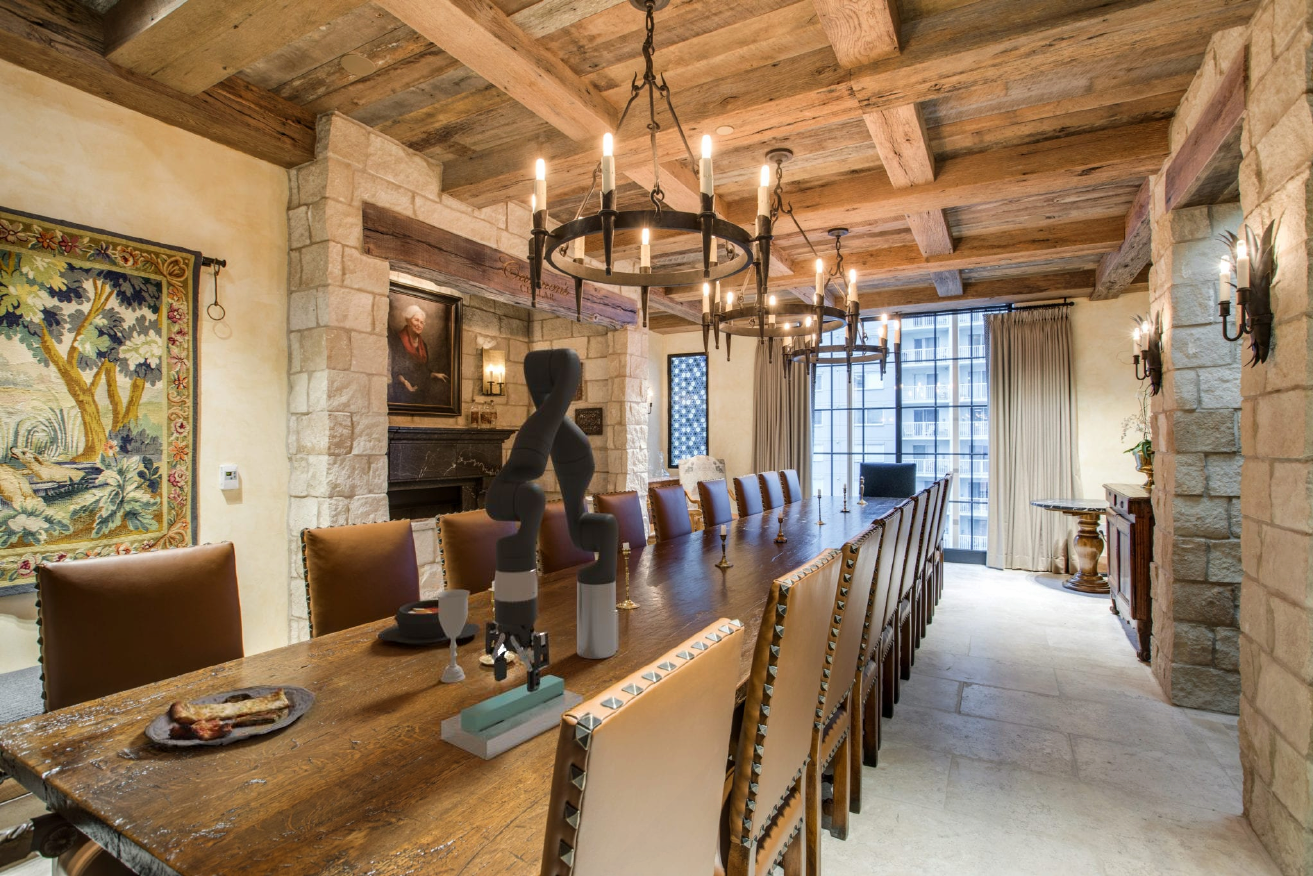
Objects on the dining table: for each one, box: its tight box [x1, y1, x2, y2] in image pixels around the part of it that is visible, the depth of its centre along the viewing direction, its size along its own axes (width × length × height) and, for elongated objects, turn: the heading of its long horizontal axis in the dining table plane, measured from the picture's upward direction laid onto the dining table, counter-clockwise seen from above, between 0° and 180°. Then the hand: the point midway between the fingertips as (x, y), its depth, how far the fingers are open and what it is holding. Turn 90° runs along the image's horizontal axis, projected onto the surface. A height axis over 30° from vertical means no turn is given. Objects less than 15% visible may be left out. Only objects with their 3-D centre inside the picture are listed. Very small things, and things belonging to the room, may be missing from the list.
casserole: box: [377, 599, 481, 646], centre depth 160 cm, size 25×19×8 cm
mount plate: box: [440, 689, 584, 761], centre depth 110 cm, size 22×12×3 cm, turn 144°
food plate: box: [143, 684, 315, 748], centre depth 112 cm, size 25×23×4 cm
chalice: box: [435, 589, 471, 684], centre depth 133 cm, size 7×7×18 cm
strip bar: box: [460, 674, 565, 732], centre depth 110 cm, size 20×4×5 cm, turn 143°
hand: (516, 685), depth 111 cm, fingers open, 8 cm apart
